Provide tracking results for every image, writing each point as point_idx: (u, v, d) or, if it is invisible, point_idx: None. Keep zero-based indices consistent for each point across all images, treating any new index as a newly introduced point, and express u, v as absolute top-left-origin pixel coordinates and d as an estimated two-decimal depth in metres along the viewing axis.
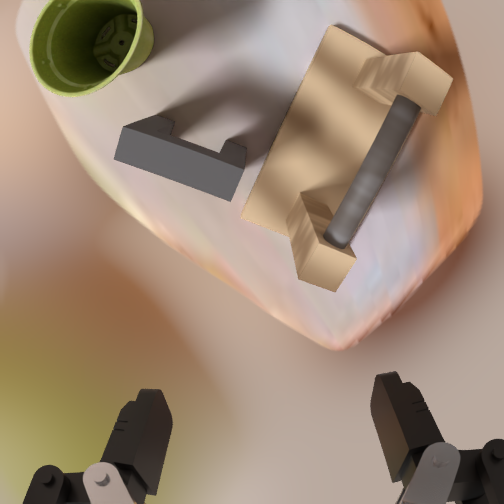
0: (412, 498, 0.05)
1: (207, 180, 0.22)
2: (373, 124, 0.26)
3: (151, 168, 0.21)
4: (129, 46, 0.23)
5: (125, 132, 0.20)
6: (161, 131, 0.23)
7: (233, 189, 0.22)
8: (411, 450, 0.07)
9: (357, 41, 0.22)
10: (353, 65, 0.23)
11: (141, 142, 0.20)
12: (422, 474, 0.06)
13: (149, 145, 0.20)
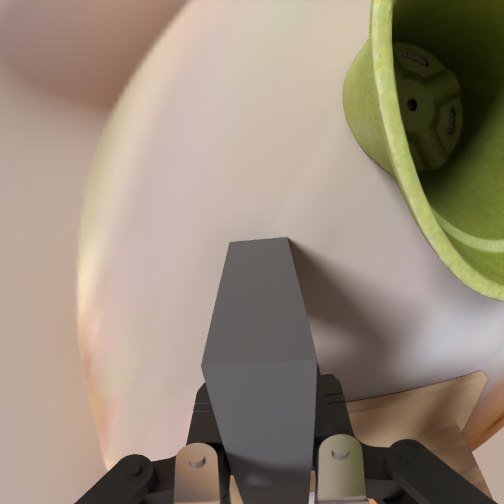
0: (327, 495, 0.06)
1: (263, 496, 0.09)
2: None
3: (232, 440, 0.08)
4: (409, 126, 0.12)
5: (301, 371, 0.07)
6: None
7: None
8: None
9: (473, 405, 0.17)
10: (446, 418, 0.18)
11: (288, 411, 0.07)
12: (327, 470, 0.07)
13: (287, 424, 0.07)
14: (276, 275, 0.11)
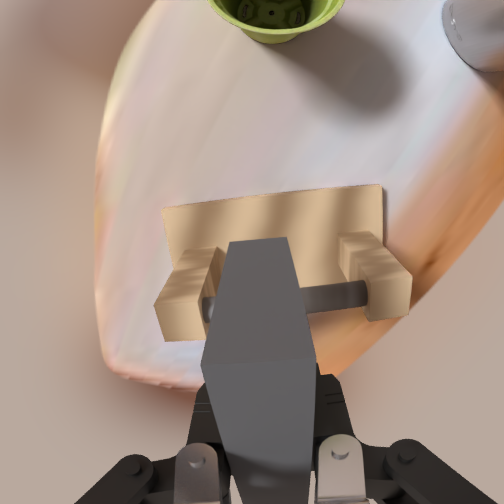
0: (327, 495, 0.06)
1: (262, 496, 0.09)
2: (316, 269, 0.30)
3: (231, 439, 0.08)
4: (270, 22, 0.22)
5: (300, 370, 0.07)
6: None
7: None
8: (313, 438, 0.08)
9: (379, 215, 0.28)
10: (356, 223, 0.28)
11: (287, 410, 0.07)
12: (327, 470, 0.07)
13: (287, 423, 0.07)
14: (275, 274, 0.11)
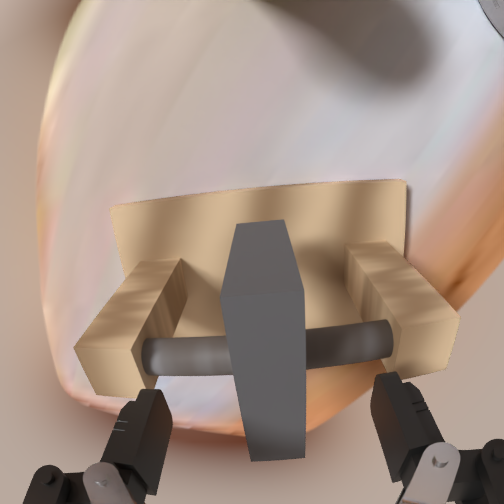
0: (412, 498, 0.05)
1: (265, 437, 0.12)
2: (314, 291, 0.22)
3: (240, 370, 0.11)
4: None
5: (293, 301, 0.09)
6: None
7: (270, 458, 0.13)
8: (411, 450, 0.07)
9: (401, 220, 0.20)
10: (371, 231, 0.21)
11: (284, 339, 0.10)
12: (422, 474, 0.06)
13: (284, 353, 0.10)
14: (274, 243, 0.13)
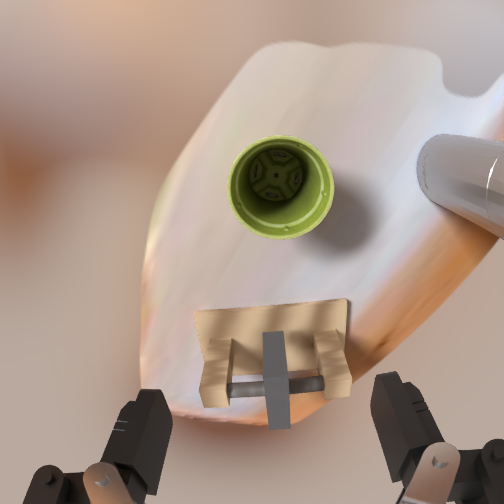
0: (412, 498, 0.05)
1: (275, 419, 0.33)
2: (298, 351, 0.43)
3: (268, 397, 0.31)
4: (275, 183, 0.35)
5: (285, 378, 0.30)
6: None
7: (277, 428, 0.33)
8: (411, 450, 0.07)
9: (344, 319, 0.41)
10: (327, 325, 0.41)
11: (282, 388, 0.31)
12: (422, 474, 0.06)
13: (282, 391, 0.31)
14: (279, 350, 0.34)
